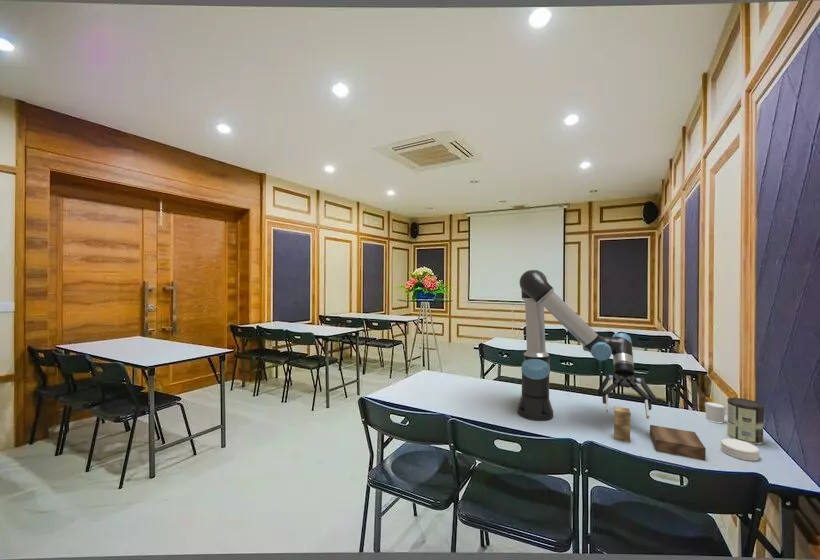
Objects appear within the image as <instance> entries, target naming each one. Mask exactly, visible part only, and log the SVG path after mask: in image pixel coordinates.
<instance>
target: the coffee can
mask: <svg viewBox="0 0 820 560" xmlns="http://www.w3.org/2000/svg"><path fill="white" fill-rule="evenodd" d="M764 409H765V405H764V404H763V403H761V402H758V401H756V400H752V399H747V398H741V397H729V398H728V397H727V421H726V422H727V426H726V427H727V432H726V435H727V436H728V438H729V439H736V440H741V441H744V442H748V443H750V444H752V445H754V446H758V445H759V446H760V445H763V444H764Z"/></svg>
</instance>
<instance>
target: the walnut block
mask: <svg viewBox="0 0 820 560" xmlns="http://www.w3.org/2000/svg"><path fill="white" fill-rule="evenodd" d="M649 436H651V437H650V440H651V442H652V444H653V447H654V450H655V452H660V453H666V454H672V455H676V456H677V455H678V456H681V455H683V456H682V457H686V458H687V457H688V458H691V459H692V458H693V459H699V460H702V461H703V460H705V461H706V450H707V449H706V446H705V445H704V444H703V442H702V441H701V439H700V437H699V436H698V434H697V433H696V431H692V430H691V431H690V430H685V429H680V428H679V429H678V428H674V427H673V428H672V427H667V426H661V425H660V426H658V425H655V424H654V425H653V424H650V425H649Z"/></svg>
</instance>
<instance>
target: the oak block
mask: <svg viewBox="0 0 820 560" xmlns="http://www.w3.org/2000/svg"><path fill="white" fill-rule="evenodd" d="M613 411H614V413H613V414H614V416H613V418H614V419H613V436H614V440H617V441H621V440H622V442H627V441H628V443H631V418H632V417H631V409H630V408H628V407H623V406H622V407H621V406H616V405H615V406H614V410H613Z"/></svg>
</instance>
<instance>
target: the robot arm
mask: <svg viewBox="0 0 820 560" xmlns="http://www.w3.org/2000/svg"><path fill="white" fill-rule="evenodd" d="M519 287H520V289H521V299H522V300H523V301H524V304H525V305H524V309H525V310H524V311H525V335H526V337H525V338H526V351H524V352H523V362H522V363H521V368H520V369H521V396H520V399H519V402H518V404H517V410H516V411H517V414H518V416H521V417H522V418H525V419H528V420H531V421H540V422H541V421H548V420H549V421H550V420H551V419H553V418H554V410H553V407H552V404H551V400H550V373H551V365H550V354H549V353H548V352H547V351H546V331H545V329H546V326H545V310H547V311H548V312H549V314H551V315H552V316H553V317H554V318H555V319H556V320H557V321H558V322H559V324H561V325H562V326H563V327H564V328H565V329H566V330H567V331H568V332H569V333H570V334H571V335H572V336H573V337H574V338H575V339H576V340H577V341H578V342H579V343H580V344H581V345H582V349H583V351H584V352H589V353H590V354H591V356H592V357H593V358H594V359H595V360H597V361H600V362H601V361H603V362H604V361H607V360H609V359H610V358H611V357H612V362H613V375H611V374H610V373H606V374H605V377H604V379H603V381H602V382H601V385H600V386H599V387H598V389H597V395H598V396H601V397H602V399H601V400H602V404H605V413H609V394H610V393H611V392H612V391H614V390H615V389H617V388H618V387H620V388H628V389H630V388H631V389H632V390H634V392H636V393H637V394H638V395H639V396H640V397H641V398H642V399H643V400H644V409H645V419H646V420H649V418H650V411H651V410H652V409H653V408H652V407H653V406H652V403H655V402H656V401H657V396H656V395H655V394H654V392H653V391H652V390H651V388H650V387H649V386H648V384H647V382H646V380H645V377H643V376H641V377H636V375H635V364H634V352H633V342H632V338H631V336H630V335H629V334H627V333H624V332H617V333H614V334H613V335H611V336H612V337H611V336H610V337H609V336H608V337H607V336H602V335H601V336H600V335H599V334H598V333H597V332H596V331H595V330H594V329H593V328H592V327H591V326H590V325H588V323H586V322H585V320H583V319H582V318H581V317H580V316H579V315H578V313H577V312H575V311H574V310H573V308H571V306H569V305H568V304H567V303H566V302H565V301H564V300H563V299H562V298H561V297H560V296H559V294H557V293H556V292H555V291H554V290H555V289H554V287H553V286H552V285H551V284H550V283H549V282H548V279H547V277H546V275H545V274H544V273H543V272H542V271H540V270H537V269H529V270H527V271H525V272H523V273H522V275H521V276H520V278H519ZM611 380H613V382H612V383H611V385H609V386H608V384H609V382H610V381H611ZM637 383H638V384H639V385H640V386H641V387H642V388H641V387H640V386H639V385H638V384H637ZM606 386H608V387H607V388H606ZM605 388H606V389H605Z"/></svg>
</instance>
